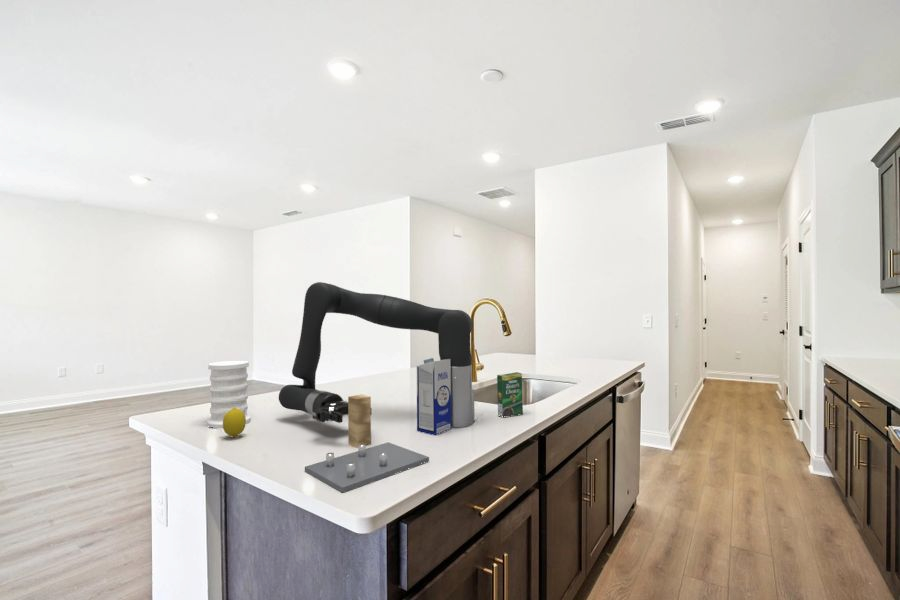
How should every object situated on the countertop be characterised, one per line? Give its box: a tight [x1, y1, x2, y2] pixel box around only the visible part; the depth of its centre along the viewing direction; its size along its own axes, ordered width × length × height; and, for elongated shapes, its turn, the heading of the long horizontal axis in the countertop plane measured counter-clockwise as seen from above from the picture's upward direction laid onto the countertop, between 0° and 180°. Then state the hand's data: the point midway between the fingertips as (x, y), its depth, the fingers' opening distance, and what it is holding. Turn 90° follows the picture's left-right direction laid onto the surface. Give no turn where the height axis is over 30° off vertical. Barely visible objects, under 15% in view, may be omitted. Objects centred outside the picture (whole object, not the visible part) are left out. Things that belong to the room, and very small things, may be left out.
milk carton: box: [416, 357, 452, 436], centre depth 121 cm, size 7×7×20 cm
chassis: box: [304, 442, 430, 494], centre depth 95 cm, size 22×15×4 cm
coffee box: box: [496, 371, 524, 418], centre depth 136 cm, size 8×3×13 cm, turn 118°
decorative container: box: [206, 359, 252, 429], centre depth 130 cm, size 12×12×18 cm
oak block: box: [347, 394, 372, 449], centre depth 109 cm, size 4×4×12 cm
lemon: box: [223, 408, 247, 439], centre depth 116 cm, size 6×6×8 cm
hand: (356, 415), depth 111 cm, fingers open, 8 cm apart
